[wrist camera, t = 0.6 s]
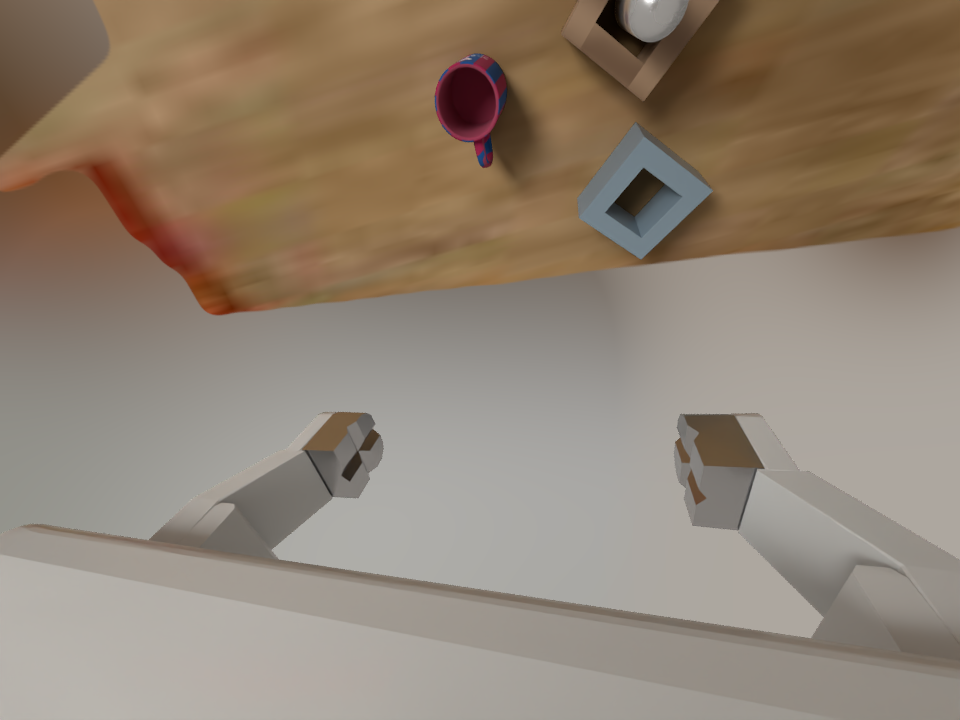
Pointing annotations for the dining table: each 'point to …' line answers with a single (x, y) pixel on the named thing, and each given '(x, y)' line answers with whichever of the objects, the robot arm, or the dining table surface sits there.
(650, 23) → the pin
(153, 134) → the dining table surface
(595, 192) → the socket
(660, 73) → the mount
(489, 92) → the mug
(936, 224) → the dining table surface
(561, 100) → the dining table surface
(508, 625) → the robot arm
